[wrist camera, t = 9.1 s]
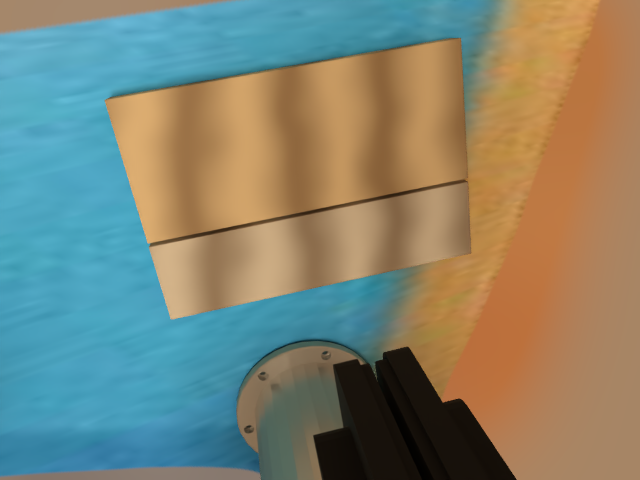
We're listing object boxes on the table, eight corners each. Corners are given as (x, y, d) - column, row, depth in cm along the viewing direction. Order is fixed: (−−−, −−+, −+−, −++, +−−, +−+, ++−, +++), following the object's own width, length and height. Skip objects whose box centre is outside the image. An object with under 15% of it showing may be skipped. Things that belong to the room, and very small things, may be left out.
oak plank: (449, 38, 38) (460, 37, 36) (456, 172, 41) (467, 178, 39) (110, 97, 35) (104, 100, 33) (151, 234, 39) (147, 243, 37)
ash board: (457, 175, 41) (467, 182, 40) (460, 244, 44) (471, 253, 42) (152, 237, 39) (149, 247, 37) (173, 306, 41) (171, 319, 39)
